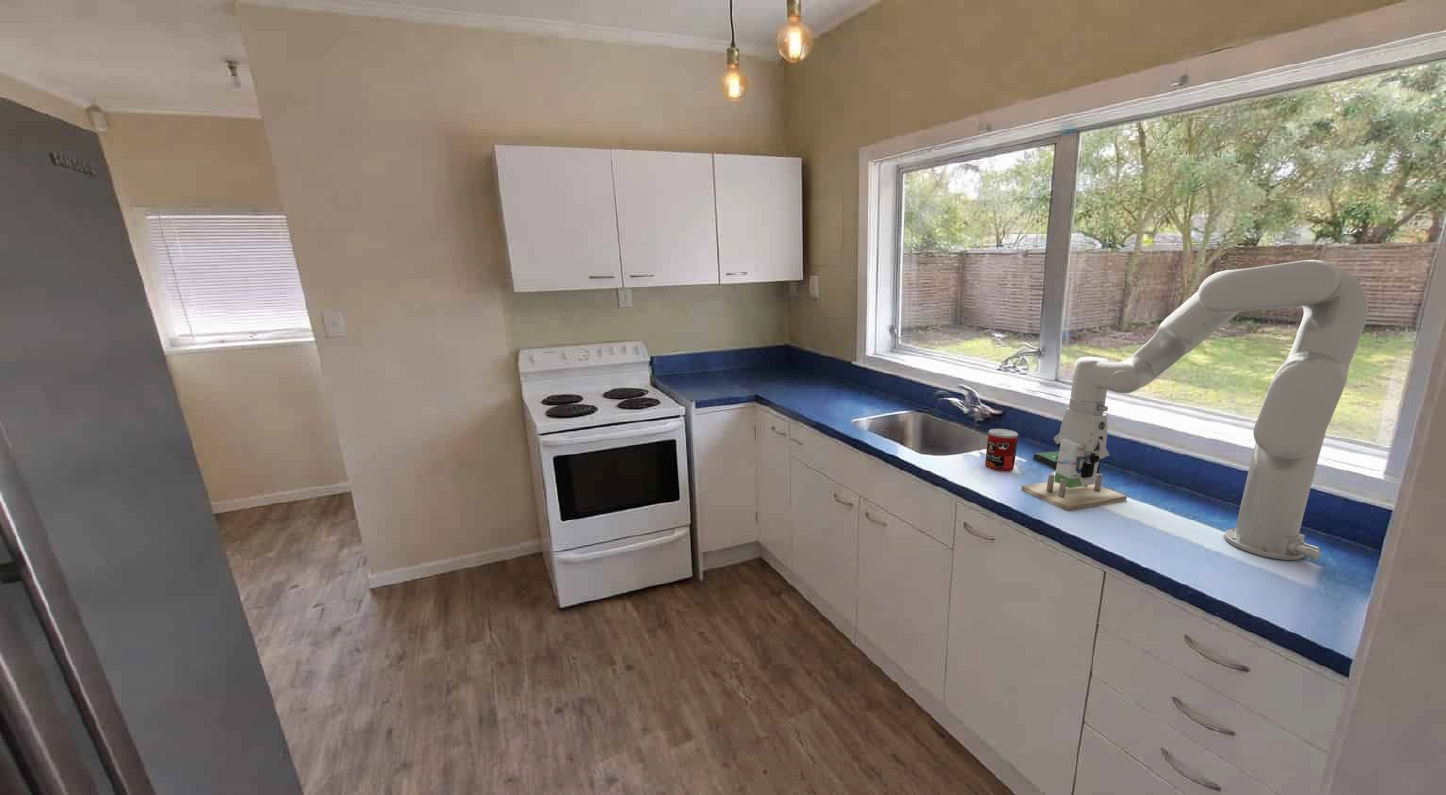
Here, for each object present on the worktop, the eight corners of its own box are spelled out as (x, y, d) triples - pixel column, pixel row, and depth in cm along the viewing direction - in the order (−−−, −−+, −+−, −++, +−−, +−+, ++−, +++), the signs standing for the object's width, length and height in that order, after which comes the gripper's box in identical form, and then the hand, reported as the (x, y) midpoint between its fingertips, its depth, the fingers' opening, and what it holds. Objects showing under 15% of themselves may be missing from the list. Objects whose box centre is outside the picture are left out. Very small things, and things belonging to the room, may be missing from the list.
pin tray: (1126, 500, 144) (1129, 479, 143) (1067, 511, 138) (1070, 489, 137) (1077, 481, 157) (1080, 462, 156) (1021, 490, 151) (1024, 470, 150)
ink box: (1078, 478, 151) (1085, 436, 148) (1095, 485, 146) (1102, 442, 143) (1052, 481, 148) (1059, 438, 146) (1069, 488, 144) (1076, 444, 141)
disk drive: (1099, 475, 164) (1060, 458, 178) (1100, 466, 163) (1061, 449, 177) (1068, 477, 162) (1031, 460, 176) (1070, 468, 161) (1033, 451, 175)
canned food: (979, 464, 171) (982, 429, 168) (1000, 461, 173) (1004, 427, 171) (998, 473, 164) (1002, 437, 161) (1019, 470, 166) (1024, 434, 164)
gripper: (1130, 413, 136) (1118, 483, 140) (1067, 397, 151) (1058, 461, 155) (1107, 415, 133) (1095, 487, 137) (1046, 399, 149) (1037, 464, 153)
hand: (1076, 472), depth 146 cm, fingers closed on ink box, 5 cm apart
